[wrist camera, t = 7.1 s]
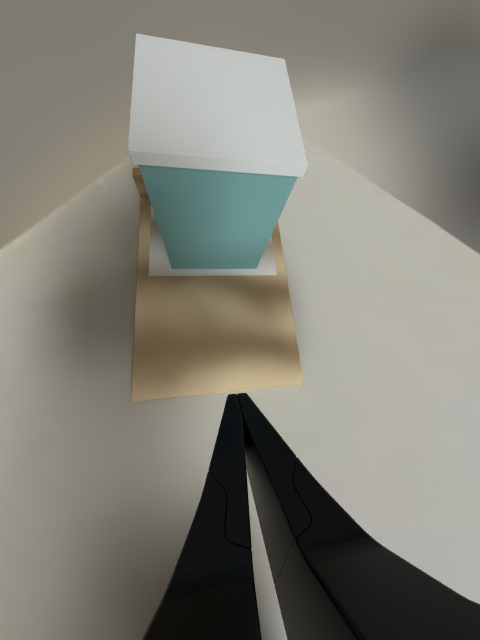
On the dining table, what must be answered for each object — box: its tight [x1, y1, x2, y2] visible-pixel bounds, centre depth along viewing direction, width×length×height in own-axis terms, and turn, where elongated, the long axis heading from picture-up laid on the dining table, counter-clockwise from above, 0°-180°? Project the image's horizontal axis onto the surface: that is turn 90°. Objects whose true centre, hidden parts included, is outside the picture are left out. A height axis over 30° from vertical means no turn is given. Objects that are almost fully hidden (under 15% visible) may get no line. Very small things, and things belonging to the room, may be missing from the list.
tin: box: [128, 34, 308, 269], centre depth 16 cm, size 8×8×11 cm
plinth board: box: [131, 168, 303, 402], centre depth 19 cm, size 20×14×3 cm
